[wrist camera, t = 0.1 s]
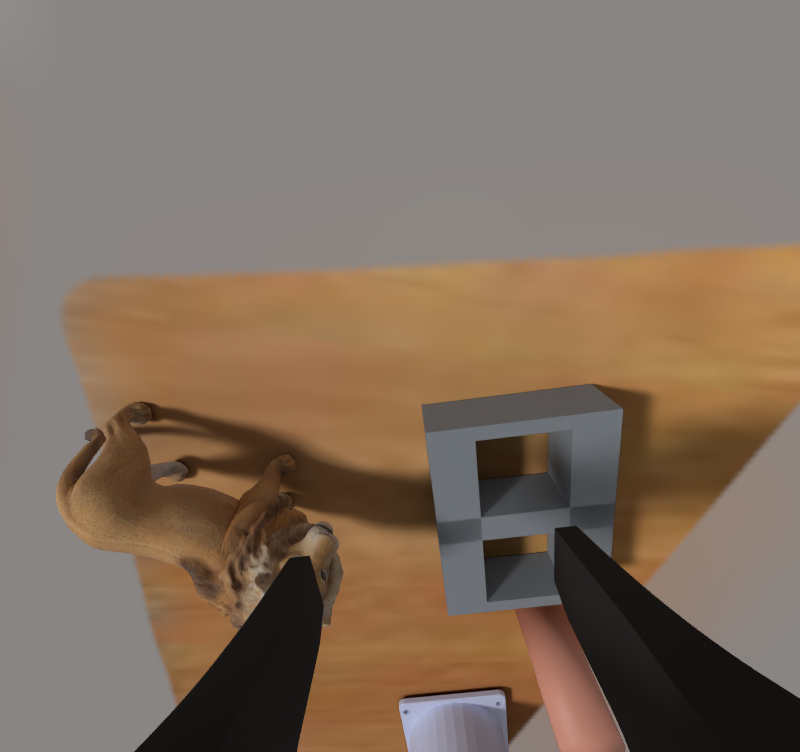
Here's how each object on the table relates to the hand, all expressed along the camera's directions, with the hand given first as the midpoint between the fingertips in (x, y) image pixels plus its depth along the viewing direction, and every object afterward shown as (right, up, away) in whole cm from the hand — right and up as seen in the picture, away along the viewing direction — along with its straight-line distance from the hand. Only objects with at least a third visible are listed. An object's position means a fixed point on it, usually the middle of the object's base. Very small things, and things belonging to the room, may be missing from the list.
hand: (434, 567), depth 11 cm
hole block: (+5, -1, +11) cm, 12 cm away
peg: (+8, -9, +15) cm, 19 cm away
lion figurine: (-10, +1, +11) cm, 15 cm away
